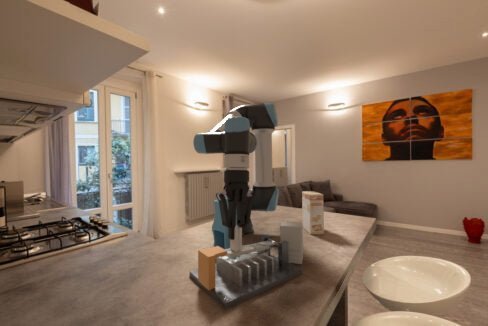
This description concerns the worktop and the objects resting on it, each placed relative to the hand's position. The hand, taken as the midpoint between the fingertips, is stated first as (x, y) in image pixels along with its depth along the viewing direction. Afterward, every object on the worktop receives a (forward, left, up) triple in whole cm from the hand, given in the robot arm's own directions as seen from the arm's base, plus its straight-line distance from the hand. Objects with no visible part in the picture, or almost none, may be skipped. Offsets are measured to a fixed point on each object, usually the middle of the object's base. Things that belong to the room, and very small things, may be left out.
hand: (235, 249), depth 64 cm
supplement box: (+1, +24, -9) cm, 26 cm away
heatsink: (0, +4, -9) cm, 10 cm away
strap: (0, +7, -2) cm, 7 cm away
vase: (-19, +9, -9) cm, 23 cm away
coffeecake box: (-16, +60, -9) cm, 63 cm away
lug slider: (0, -8, -7) cm, 10 cm away
